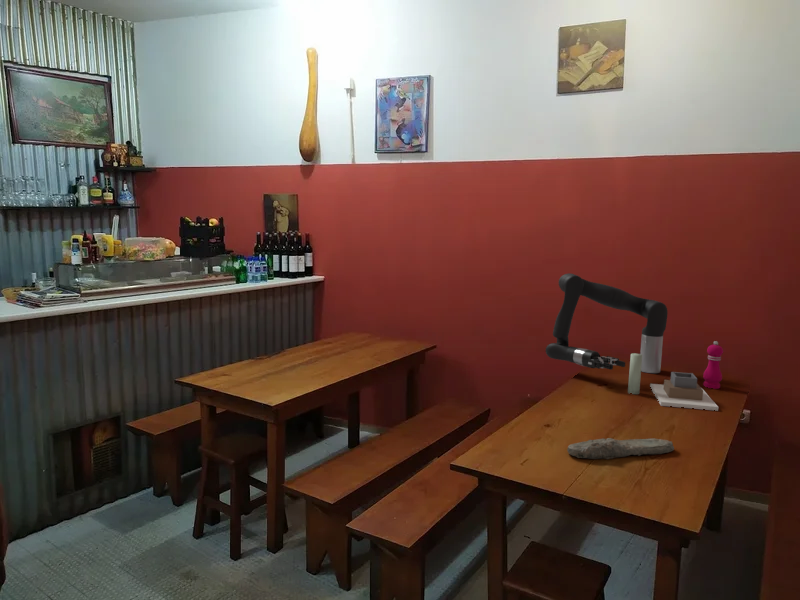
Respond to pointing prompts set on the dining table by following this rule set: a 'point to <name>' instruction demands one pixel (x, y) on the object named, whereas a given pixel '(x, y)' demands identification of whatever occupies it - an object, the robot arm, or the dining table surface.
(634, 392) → the green dowel
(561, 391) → the dining table surface
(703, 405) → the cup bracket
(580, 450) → the elongated rock
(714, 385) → the pepper mill
